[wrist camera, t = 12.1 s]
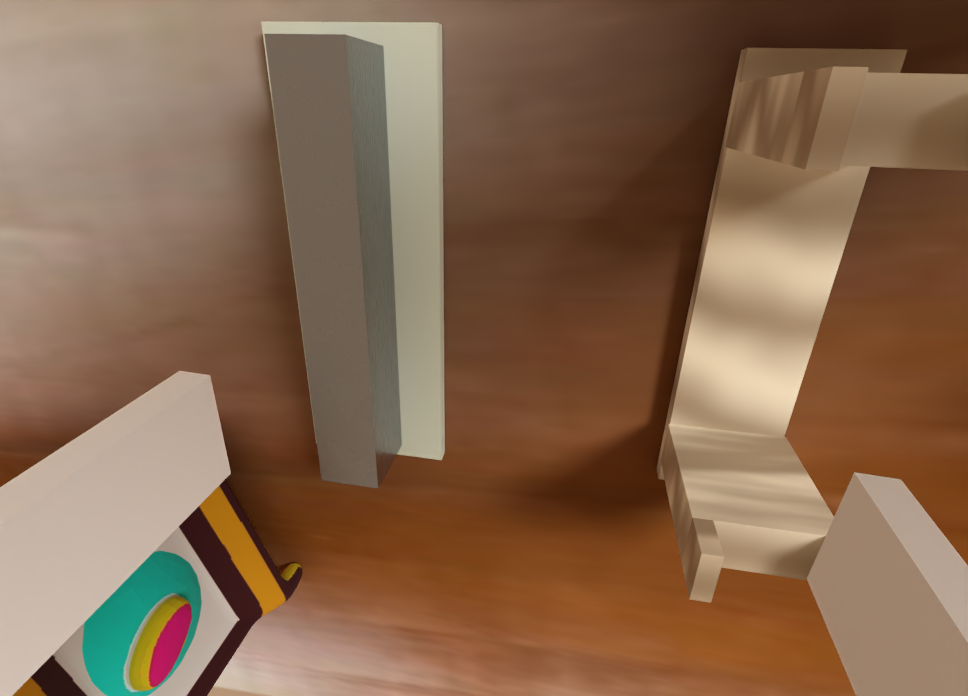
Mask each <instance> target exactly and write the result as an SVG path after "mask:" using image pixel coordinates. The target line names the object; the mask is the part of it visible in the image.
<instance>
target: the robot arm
mask: <svg viewBox="0 0 968 696" xmlns="http://www.w3.org/2000/svg"><path fill="white" fill-rule="evenodd" d="M230 474H231V471H230V466H229V461H228V457H227V452H226V447H225V443H224V438H223V433H222V429H221V424H220V419H219V415H218V410H217V405H216V401H215V396H214V391H213V386H212V382H211V377H210V375H205V374H198V373H192V372H185V371H178V372H177V373H175V374H174V375H172V376H171V377H169V378H168V379H166V380H164V381H163V382H161V383H160V384H158V385H157V386H155V387H154V388H152V389H151V390H149V391H148V392H146V393H145V394H143V395H141V396H140V397H138V398H137V399H135V400H134V401H132V402H131V403H129V404H128V405H126V406H125V407H123V408H121V409H120V410H118V411H117V412H115V413H114V414H112V415H111V416H109V417H108V418H106V419H105V420H103V421H101V422H100V423H98V424H97V425H95V426H94V427H92V428H91V429H89V430H88V431H86V432H85V433H83V434H81V435H80V436H78V437H77V438H75V439H74V440H72V441H71V442H69V443H68V444H66V445H65V446H63V447H61V448H60V449H58V450H57V451H55V452H54V453H52V454H51V455H49V456H48V457H46V458H45V459H43V460H41V461H40V462H38V463H37V464H35V465H34V466H32V467H31V468H29V469H28V470H26V471H25V472H23V473H22V474H20V475H18V476H17V477H15V478H14V479H12V480H11V481H9V482H8V483H6V484H5V485H3V486H2V487H0V696H12V695H13V694H14V693H15V692H16V691H17V690H18V689H19V688H20V687H21V686H22V685H23V684H24V683H25V682H26V681H27V680H28V679H29V678H30V677H31V676H32V675H33V674H34V673H35V672H36V671H37V670H38V669H39V668H40V667H41V666H42V665H43V664H44V663H45V662H46V661H47V660H48V659H49V658H50V657H51V656H52V655H53V654H54V653H55V652H56V651H57V650H58V649H59V648H60V647H61V646H62V645H63V644H64V643H65V642H66V640H67V639H68V638H69V637H70V636H71V635H72V634H73V633H74V632H75V631H76V630H77V629H78V628H79V627H80V626H81V625H82V624H83V623H84V622H85V621H86V620H87V619H88V618H89V617H90V616H91V615H92V614H93V613H94V612H95V611H96V610H97V609H98V608H99V607H100V606H101V605H102V604H103V603H104V602H105V601H106V600H107V599H108V598H109V597H110V596H111V595H112V594H113V593H114V592H115V591H116V590H117V589H118V588H119V587H120V586H121V585H122V584H123V583H124V582H125V581H126V580H127V579H128V577H129V576H130V575H131V574H132V573H133V572H134V571H135V570H136V569H137V568H138V567H139V566H140V565H141V564H142V563H143V562H144V561H145V560H146V559H147V558H148V557H149V556H150V555H151V554H152V553H153V552H154V551H155V550H156V549H157V548H158V547H159V546H160V545H161V544H162V543H163V542H164V541H165V540H166V539H167V538H168V537H169V536H170V535H171V534H172V533H173V532H174V531H175V530H176V529H177V528H178V527H179V526H180V525H181V524H182V523H183V522H184V521H185V520H186V519H187V518H188V517H189V515H190V514H191V513H192V512H193V511H194V510H195V509H196V508H197V507H198V506H199V505H200V504H201V503H202V502H203V501H204V500H205V499H206V498H207V497H208V496H209V495H210V494H211V493H212V492H213V491H214V490H215V489H216V488H217V487H218V486H219V485H220V484H221V483H222V482H223V481H224V480H225V479H226V478H227V477H228V476H229V475H230ZM807 581H808V583H809V585H810V588H811V590H812V592H813V595H814V597H815V599H816V602H817V604H818V607H819V609H820V611H821V614H822V616H823V618H824V621H825V623H826V626H827V628H828V630H829V633H830V635H831V637H832V640H833V642H834V645H835V647H836V649H837V652H838V654H839V656H840V659H841V661H842V664H843V666H844V668H845V671H846V673H847V675H848V678H849V680H850V682H851V685H852V687H853V690H854V692H855V694H856V696H968V565H967V564H966V563H965V562H964V560H963V559H962V558H961V556H960V555H959V554H958V553H957V551H956V550H955V549H954V547H953V546H952V545H951V544H950V542H949V541H948V540H947V538H946V537H945V536H944V535H943V533H942V532H941V531H940V529H939V528H938V527H937V526H936V524H935V523H934V522H933V520H932V519H931V518H930V516H929V515H928V514H927V513H926V511H925V510H924V509H923V507H922V506H921V505H920V504H919V502H918V501H917V500H916V498H915V497H914V496H913V495H912V493H911V492H910V491H909V489H908V488H907V487H906V486H905V484H904V483H903V482H902V480H901V479H895V478H888V477H881V476H875V475H868V474H861V473H855V472H854V474H853V476H852V479H851V481H850V483H849V485H848V488H847V490H846V492H845V494H844V497H843V499H842V501H841V503H840V505H839V508H838V510H837V512H836V514H835V517H834V519H833V521H832V523H831V526H830V528H829V530H828V532H827V535H826V537H825V539H824V541H823V543H822V546H821V548H820V550H819V552H818V555H817V557H816V559H815V561H814V564H813V566H812V568H811V570H810V572H809V575H808V577H807Z"/></svg>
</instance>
